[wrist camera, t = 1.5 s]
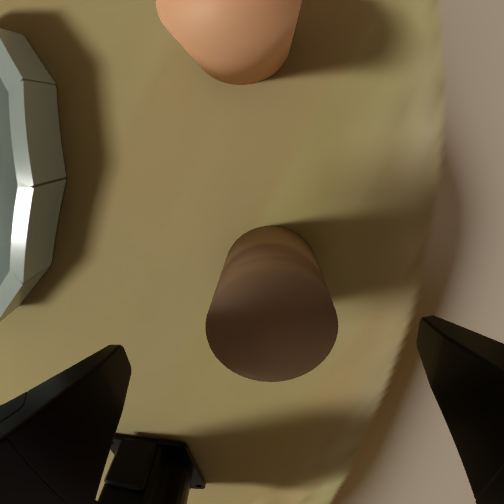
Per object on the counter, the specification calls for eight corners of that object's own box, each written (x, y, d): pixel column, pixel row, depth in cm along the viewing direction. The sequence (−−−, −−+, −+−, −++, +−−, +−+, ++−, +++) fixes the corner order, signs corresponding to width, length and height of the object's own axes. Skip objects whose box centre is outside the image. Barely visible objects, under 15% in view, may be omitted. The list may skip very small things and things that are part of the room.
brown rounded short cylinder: (317, 305, 15) (337, 374, 10) (232, 313, 15) (218, 384, 10) (312, 221, 13) (337, 264, 9) (218, 231, 14) (193, 278, 9)
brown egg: (297, 79, 11) (314, 41, 7) (198, 91, 12) (160, 63, 7) (283, -2, 10) (290, -65, 5) (189, 11, 10) (153, -44, 6)
